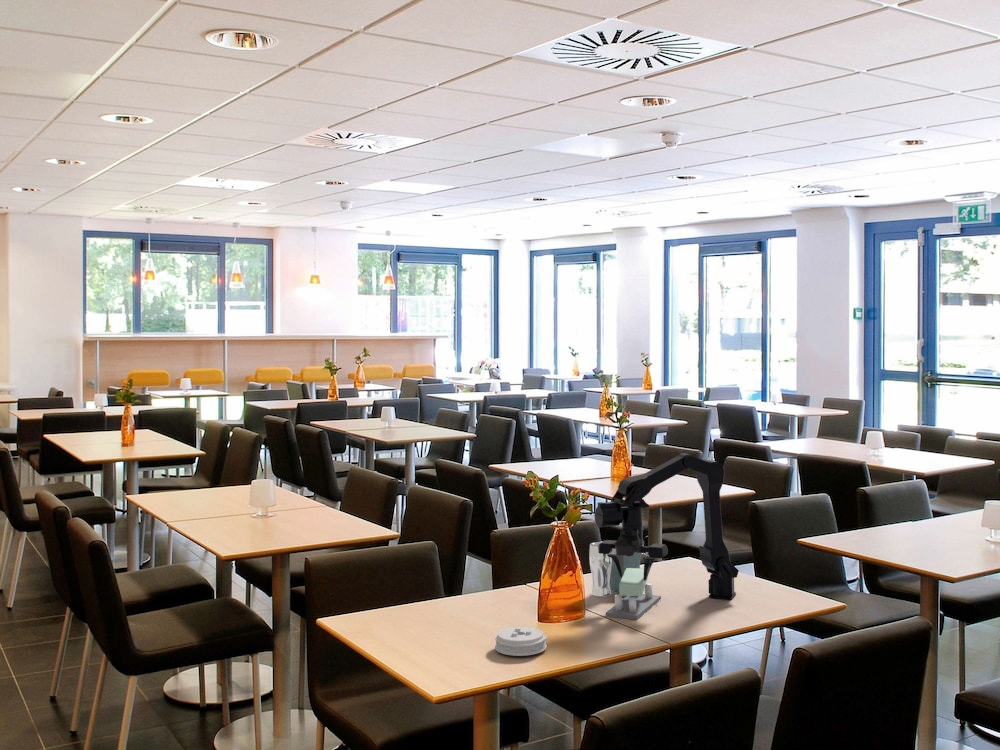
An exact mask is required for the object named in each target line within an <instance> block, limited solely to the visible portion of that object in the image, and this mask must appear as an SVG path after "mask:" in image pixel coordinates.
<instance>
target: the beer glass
mask: <svg viewBox="0 0 1000 750" xmlns="http://www.w3.org/2000/svg"><path fill="white" fill-rule="evenodd" d="M601 542H602V541H597V542H591V543H590V544H589V553H588V554H589V557H588V558H589V566H590V567H589V568H590V573H591V578H592V590H591V596H593V597H596V598H609V597H612V596H613V590H612V589H611V575H612V568H613V559H612V558H611V557H608V556H607V555H608V554H601V553H598V546H599V544H600V543H601Z"/></svg>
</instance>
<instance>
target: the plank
mask: <svg viewBox="0 0 1000 750" xmlns="http://www.w3.org/2000/svg"><path fill="white" fill-rule="evenodd" d="M647 583H648V577H647V580H646V581H644V567H643V568H641V567H640V568H626V570H625V572H624V575H623V577H622V579H621V581H620V584H619V593H618V595H622V596H628V595H629V596H642V594H644V592H645V585H646V584H647Z"/></svg>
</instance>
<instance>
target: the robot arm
mask: <svg viewBox="0 0 1000 750" xmlns="http://www.w3.org/2000/svg"><path fill="white" fill-rule="evenodd" d="M687 470H688V471H691V472H694V473H695V475H696V481H697V483H698V485H699V487H700V489H701V491H702V499H703V500H702V502H703V515H704V516H703V517H704V531H705V532H704V534H705V541H704V543H703V545H699V546H698V550H699V557H698V559H699V560H700V561H701V564H702V566H704V567H705V568H706V572H707V573H708V574H709V573H710V577H709V579H708V598H713V599H723V600H732V599H733V598H734V597H735V596H736V595H737V592H736V591H735V578H738V574H739V569H738V568H737V567H736V566H735V565H734V564H733V563H732V562H731V558H730V554H729V550H728V548H727V546H726V544H725V542H724V537H723V522H722V511H721V510H722V508H721V507H722V506H721V489H722V487H723V485H724V481H725V468H724V465H723V464H721V463H720V462H718V461H715V460H710V459H707V458H706V459H704V458H703V459H701V458H697V457H695V456H693V455H692V454H689V453H684V452H682V453H679V454H677V455H676V456H675V457H673V458H671V459H669V460H667V461H665V462H663V463H662V464H659V465H658V466H656V467H654V468H653V469H651V470H649V471H647V472H644V473H642V474H636V475H632V476H628V477H626V478H623V479H621V480H620V481H619V483H618V486H617V489H616V492H615V493H614V494H613V496H612V497H611V499H610V501H607V502H602V501H601V502H597V506H596V508H595V510H594V511H595V512H594V515H593V516H594V517H593V518H594V522H595V524H596V526H597V527H598V528H607V527H618V526H620V525H621V528H620V531H619V532H620V535H619V536H618V538H617V540H613V539H612V540H610V539H609V540H608V539H605V540H604V541H600V542H601V543H600V544H599V546H598V553H601V554H608V555H607V556H608V557H611V558H612V559H613V560H614V562H615V564H616V567H617V569H618V572H619V574H620V577H621V579H622V577H623V575H624V555H626V556H632V555H633V554H634V552H637V553H641V554H645V556H644V557H643V568H644V581H646V580H647V581H648V579H647V577H648V576H649V574H650V570H651V568H652V566H653V564H654V561H655V560H656V559H663V558H665V557H666V556H667V555H668V554H669V549H668V546H667V545H666V544H664V543H652V544H651V545H649V546H645V540H644V536H643V534H644V533H643V531H644V530H645V527H644V526H643V509H644V508H645V509H646V508H650V505H649V504H648V503H647V502H646V501H645V499H644V498H645V497H646V496H647V495H649V493H650V492H651V491H652V489H654V488H655V487H656V486H658V485H660V484H662V483H664V482H665V481H667V480H670V479H671V478H674V477H675V476H677V475H679V474H680V473H682V472H684V471H687Z"/></svg>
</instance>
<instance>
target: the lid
mask: <svg viewBox="0 0 1000 750" xmlns="http://www.w3.org/2000/svg"><path fill="white" fill-rule="evenodd" d="M494 640H495V646H494V649H495V650H496V651H497V653H499V654H502V655H505V656H506V655H507V656H514V657H517V656H518V657H523V656H531V655H532V656H533V655H536V654H540V653H543V652H544V651H545V650H546V649H547V646H548V645H547V644H546V640H547V634H546V633H545V632H544V631H542V630H541V629H539V628H537V627H531V626H512V627H508V628H504V629H502V630H500V631H499V632H498V633H496V634H495V636H494Z"/></svg>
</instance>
